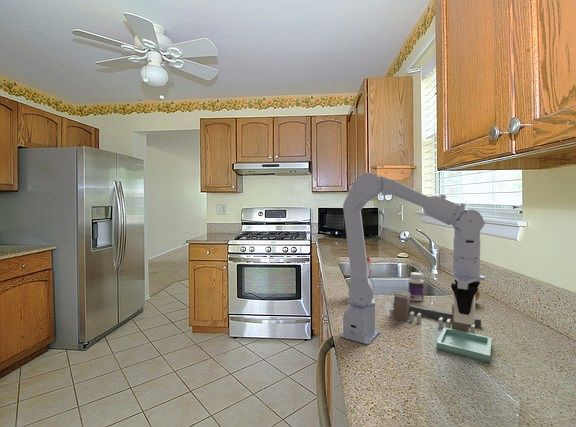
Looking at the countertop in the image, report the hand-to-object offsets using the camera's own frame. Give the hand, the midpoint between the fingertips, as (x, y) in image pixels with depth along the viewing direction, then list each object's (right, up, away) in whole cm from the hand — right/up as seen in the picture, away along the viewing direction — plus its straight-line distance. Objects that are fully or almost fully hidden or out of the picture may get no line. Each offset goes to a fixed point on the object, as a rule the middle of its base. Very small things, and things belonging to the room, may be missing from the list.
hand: (465, 310), depth 75 cm
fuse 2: (+4, -9, +10) cm, 14 cm away
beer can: (-16, -8, +39) cm, 43 cm away
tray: (0, -9, 0) cm, 9 cm away
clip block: (0, -9, +17) cm, 19 cm away
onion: (+20, -8, +33) cm, 39 cm away
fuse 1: (-9, -9, +19) cm, 23 cm away
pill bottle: (+3, -8, +37) cm, 38 cm away
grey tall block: (0, -3, 0) cm, 3 cm away
